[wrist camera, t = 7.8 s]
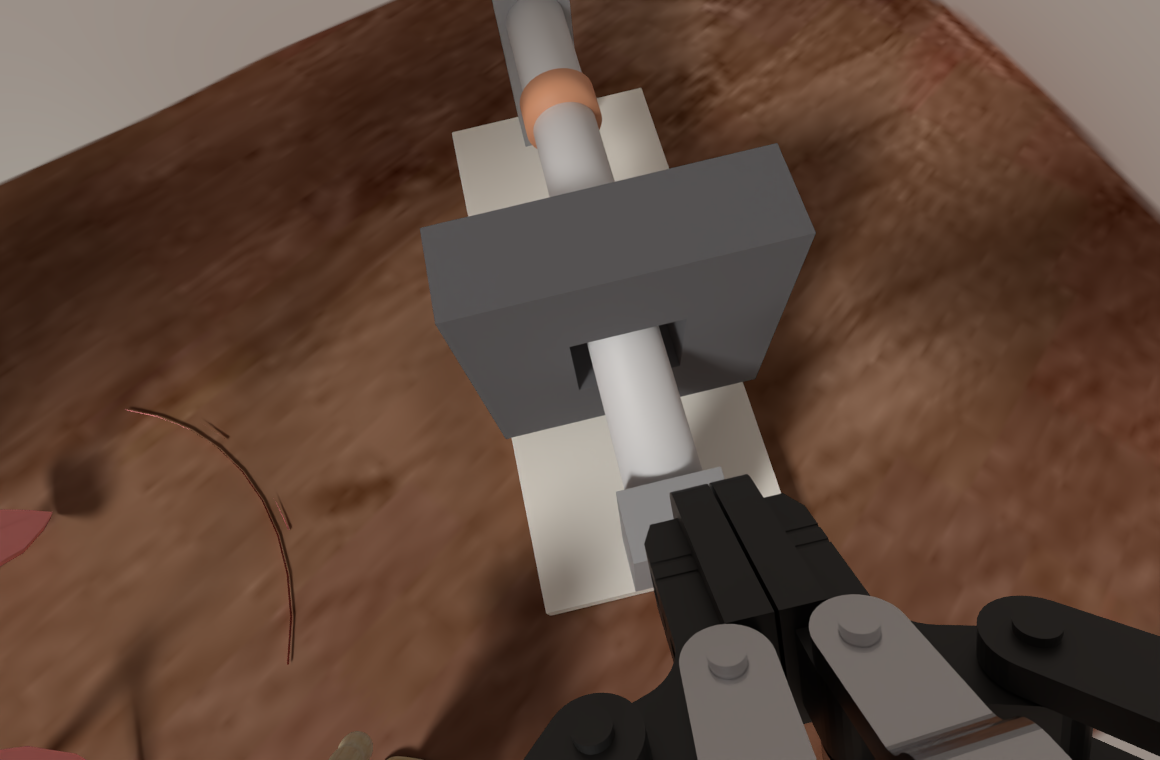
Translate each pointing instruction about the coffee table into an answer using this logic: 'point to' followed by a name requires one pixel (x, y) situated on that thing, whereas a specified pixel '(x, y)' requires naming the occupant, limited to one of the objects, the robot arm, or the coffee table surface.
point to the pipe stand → (621, 363)
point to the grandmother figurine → (358, 748)
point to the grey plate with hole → (619, 282)
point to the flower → (9, 538)
